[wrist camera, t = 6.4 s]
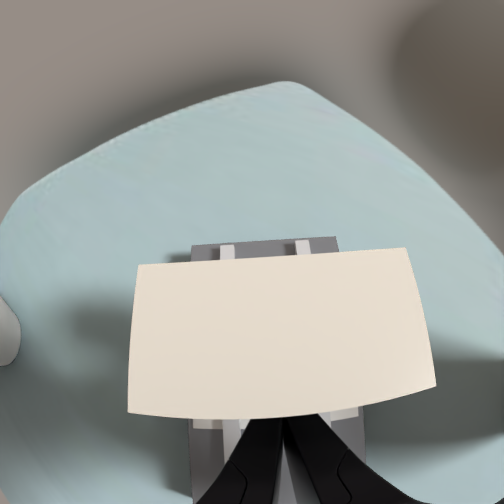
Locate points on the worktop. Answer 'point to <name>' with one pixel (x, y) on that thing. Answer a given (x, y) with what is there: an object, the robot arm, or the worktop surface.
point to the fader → (276, 335)
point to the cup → (8, 334)
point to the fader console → (230, 430)
